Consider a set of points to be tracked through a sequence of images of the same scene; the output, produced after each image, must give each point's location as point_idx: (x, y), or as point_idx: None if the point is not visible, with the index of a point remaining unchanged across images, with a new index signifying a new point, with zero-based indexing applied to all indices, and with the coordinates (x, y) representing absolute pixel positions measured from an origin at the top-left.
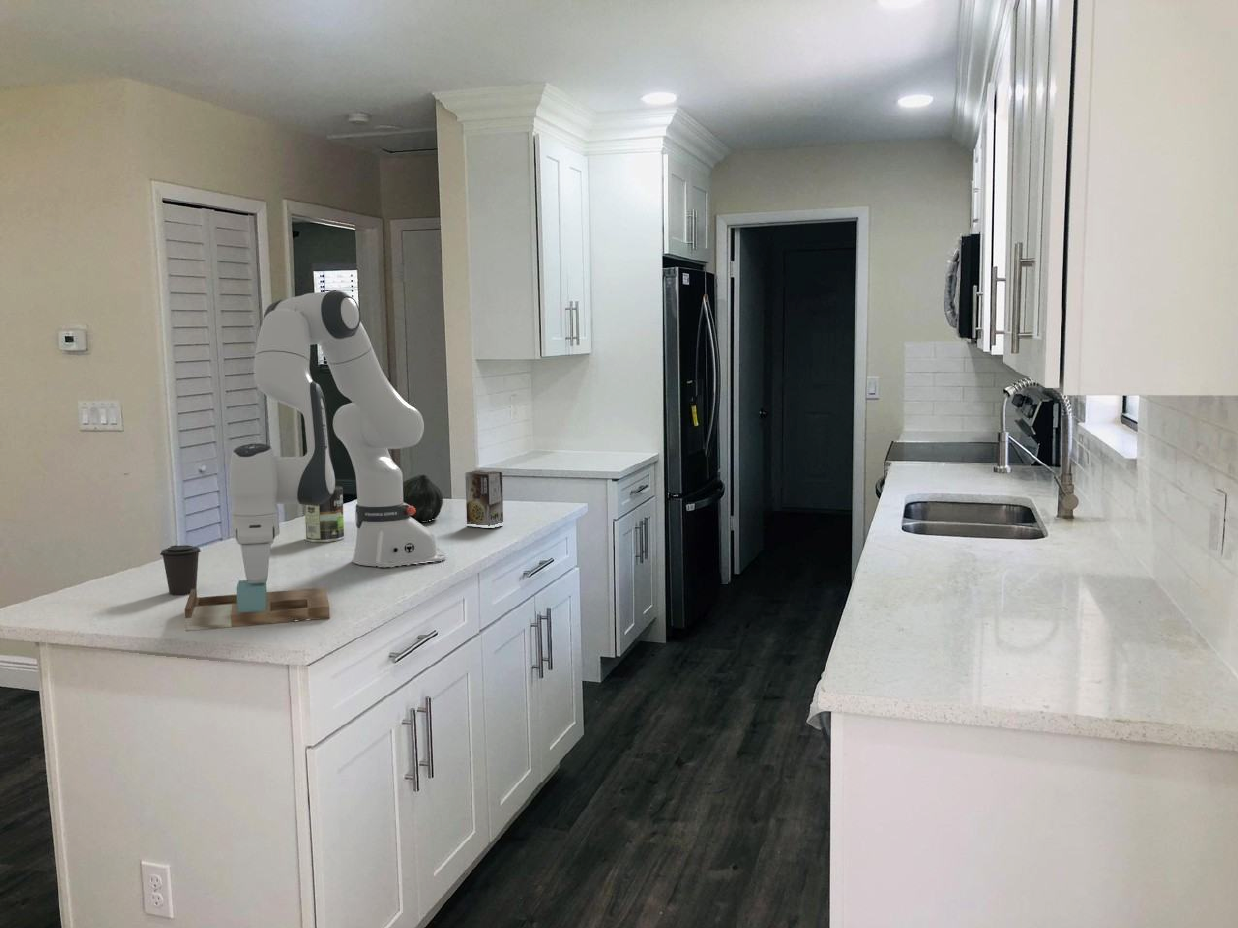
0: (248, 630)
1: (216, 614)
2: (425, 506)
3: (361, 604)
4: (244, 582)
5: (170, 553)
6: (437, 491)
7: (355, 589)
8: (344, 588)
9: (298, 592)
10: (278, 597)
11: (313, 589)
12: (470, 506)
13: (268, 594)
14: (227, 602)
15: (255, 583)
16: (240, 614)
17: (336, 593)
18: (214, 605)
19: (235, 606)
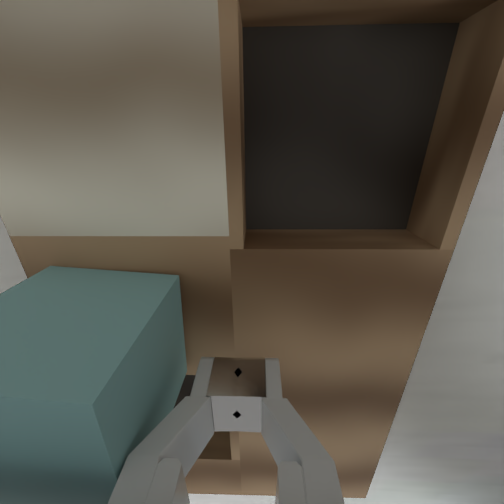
0: (12, 276)
1: (9, 159)
2: None
3: (256, 497)
4: (22, 432)
5: None
6: None
7: (416, 500)
8: (445, 487)
9: (339, 447)
10: (290, 399)
11: (359, 477)
12: None
13: (362, 372)
14: (429, 191)
15: (4, 478)
16: (30, 275)
17: (400, 473)
18: (231, 132)
19: (176, 251)
